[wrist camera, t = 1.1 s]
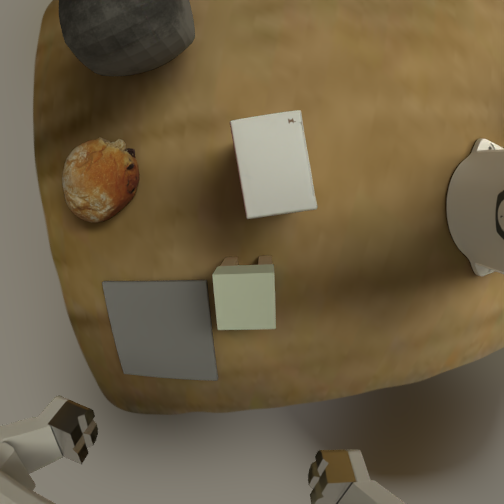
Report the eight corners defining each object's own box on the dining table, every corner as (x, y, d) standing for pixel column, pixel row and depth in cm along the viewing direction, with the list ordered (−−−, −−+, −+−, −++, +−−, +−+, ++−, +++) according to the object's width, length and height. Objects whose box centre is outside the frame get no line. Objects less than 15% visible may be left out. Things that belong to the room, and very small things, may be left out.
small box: (240, 139, 31) (227, 117, 21) (290, 131, 31) (301, 107, 20) (252, 210, 33) (244, 220, 22) (302, 203, 32) (318, 209, 22)
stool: (272, 254, 34) (274, 272, 26) (274, 300, 35) (275, 328, 27) (224, 255, 34) (212, 274, 27) (227, 301, 35) (217, 329, 28)
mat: (206, 279, 35) (205, 281, 34) (218, 378, 38) (217, 380, 37) (104, 280, 36) (102, 282, 35) (125, 371, 38) (123, 373, 38)
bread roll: (91, 157, 36) (43, 167, 29) (132, 119, 30) (75, 123, 24) (113, 221, 38) (65, 239, 31) (158, 194, 32) (102, 212, 26)
